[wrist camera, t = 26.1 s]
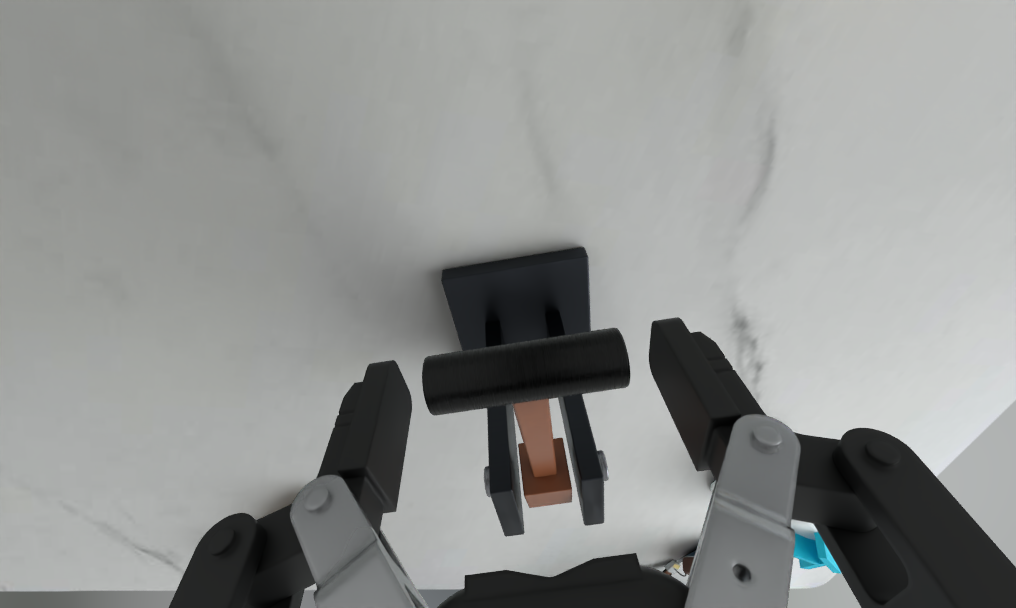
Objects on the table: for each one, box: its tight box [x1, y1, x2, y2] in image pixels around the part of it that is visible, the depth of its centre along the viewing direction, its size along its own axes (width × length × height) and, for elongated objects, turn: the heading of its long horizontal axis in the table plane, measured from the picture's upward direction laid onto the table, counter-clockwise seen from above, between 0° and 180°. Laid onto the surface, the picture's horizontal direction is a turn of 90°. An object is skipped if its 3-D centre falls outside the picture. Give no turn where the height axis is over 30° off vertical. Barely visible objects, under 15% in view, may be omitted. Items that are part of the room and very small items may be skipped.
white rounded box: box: [711, 480, 841, 573], centre depth 40 cm, size 12×9×12 cm
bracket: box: [441, 247, 609, 536], centre depth 24 cm, size 12×9×13 cm
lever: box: [422, 328, 630, 508], centre depth 16 cm, size 13×6×2 cm, turn 8°
